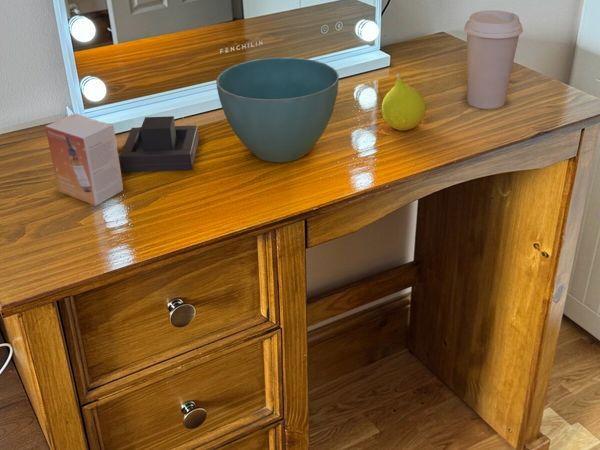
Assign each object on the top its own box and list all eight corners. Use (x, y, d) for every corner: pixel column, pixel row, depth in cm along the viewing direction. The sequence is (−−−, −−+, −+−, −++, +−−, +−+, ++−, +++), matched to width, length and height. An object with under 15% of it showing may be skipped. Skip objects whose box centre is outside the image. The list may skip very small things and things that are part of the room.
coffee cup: (519, 111, 130) (530, 24, 123) (463, 113, 131) (470, 26, 123) (507, 91, 139) (516, 8, 131) (454, 92, 139) (460, 9, 131)
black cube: (173, 154, 117) (170, 127, 115) (144, 155, 117) (140, 128, 115) (177, 142, 121) (173, 116, 119) (148, 143, 121) (144, 117, 119)
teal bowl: (214, 135, 126) (207, 64, 120) (321, 121, 130) (319, 51, 123) (234, 185, 111) (227, 106, 104) (354, 167, 114) (354, 90, 108)
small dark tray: (192, 170, 115) (190, 153, 114) (122, 172, 115) (119, 156, 114) (199, 140, 125) (197, 125, 123) (134, 142, 125) (131, 127, 123)
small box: (57, 192, 111) (43, 125, 105) (87, 177, 114) (74, 111, 109) (95, 207, 107) (82, 138, 101) (125, 190, 110) (113, 123, 105)
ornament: (390, 117, 130) (392, 60, 125) (430, 123, 127) (433, 66, 122) (374, 133, 125) (375, 74, 120) (415, 140, 122) (418, 80, 117)
